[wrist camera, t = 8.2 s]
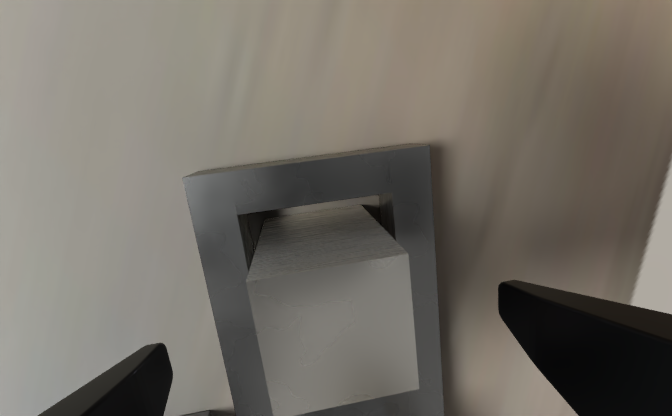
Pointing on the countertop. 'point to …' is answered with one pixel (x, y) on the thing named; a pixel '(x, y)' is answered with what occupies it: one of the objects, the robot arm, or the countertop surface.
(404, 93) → the countertop surface
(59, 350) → the countertop surface
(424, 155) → the rectangular frame
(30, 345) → the countertop surface
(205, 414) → the grey hollow square block
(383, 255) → the block
